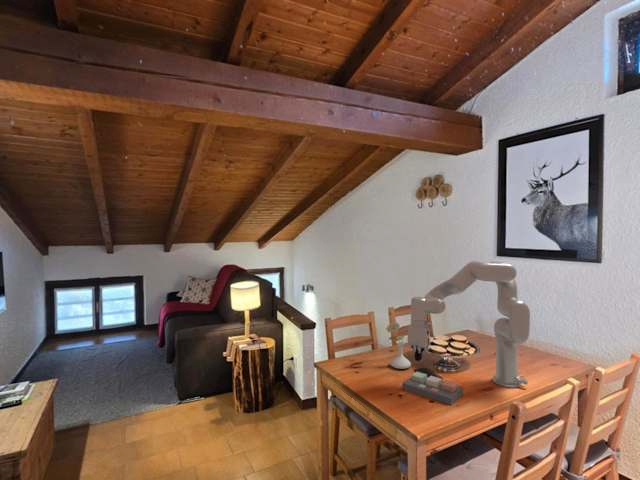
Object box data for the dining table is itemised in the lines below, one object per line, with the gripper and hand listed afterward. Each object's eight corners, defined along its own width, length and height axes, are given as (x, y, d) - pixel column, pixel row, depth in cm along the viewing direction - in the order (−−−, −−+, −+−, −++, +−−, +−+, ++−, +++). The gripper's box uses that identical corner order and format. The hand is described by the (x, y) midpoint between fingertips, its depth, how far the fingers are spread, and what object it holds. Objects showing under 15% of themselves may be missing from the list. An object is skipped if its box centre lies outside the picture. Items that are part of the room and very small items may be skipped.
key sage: (426, 380, 168) (426, 374, 168) (421, 384, 164) (421, 378, 164) (416, 377, 172) (416, 371, 172) (411, 381, 168) (411, 375, 168)
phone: (425, 367, 188) (443, 378, 174) (425, 369, 188) (443, 380, 174) (413, 369, 186) (430, 380, 171) (413, 371, 186) (430, 382, 171)
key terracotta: (457, 389, 158) (457, 383, 158) (453, 394, 154) (453, 387, 154) (446, 386, 162) (446, 380, 162) (441, 390, 158) (441, 384, 158)
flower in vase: (409, 362, 196) (408, 319, 195) (412, 371, 185) (412, 325, 184) (385, 362, 197) (385, 319, 197) (387, 370, 186) (387, 324, 185)
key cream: (441, 385, 163) (441, 378, 163) (437, 389, 159) (437, 382, 159) (431, 381, 167) (431, 375, 167) (426, 385, 163) (426, 379, 163)
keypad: (462, 393, 159) (462, 386, 159) (451, 405, 149) (451, 398, 148) (416, 379, 174) (416, 373, 174) (402, 389, 164) (402, 382, 164)
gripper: (436, 324, 165) (436, 362, 165) (408, 318, 175) (407, 354, 175) (430, 327, 159) (429, 366, 160) (401, 321, 169) (400, 358, 170)
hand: (418, 360), depth 168 cm, fingers closed
